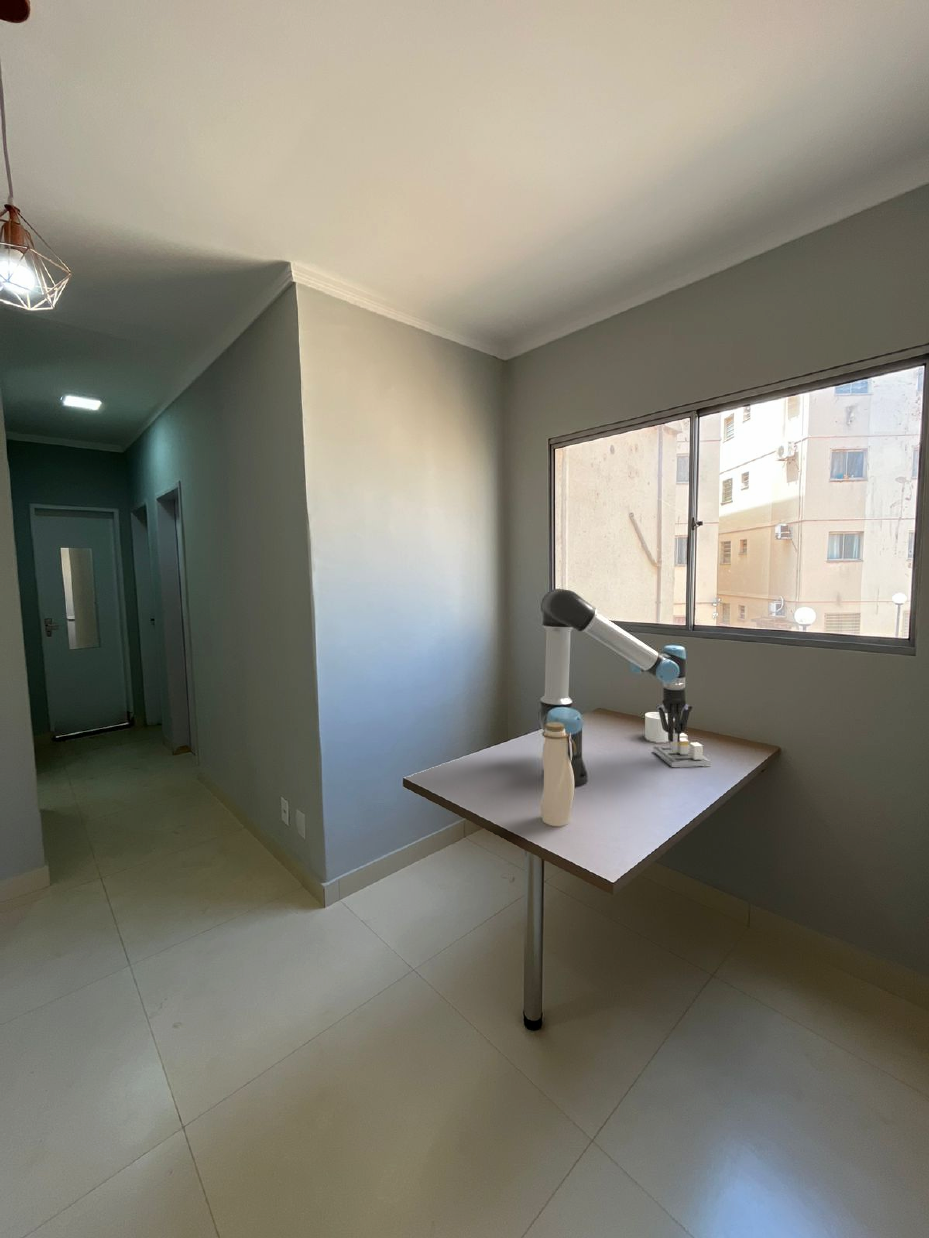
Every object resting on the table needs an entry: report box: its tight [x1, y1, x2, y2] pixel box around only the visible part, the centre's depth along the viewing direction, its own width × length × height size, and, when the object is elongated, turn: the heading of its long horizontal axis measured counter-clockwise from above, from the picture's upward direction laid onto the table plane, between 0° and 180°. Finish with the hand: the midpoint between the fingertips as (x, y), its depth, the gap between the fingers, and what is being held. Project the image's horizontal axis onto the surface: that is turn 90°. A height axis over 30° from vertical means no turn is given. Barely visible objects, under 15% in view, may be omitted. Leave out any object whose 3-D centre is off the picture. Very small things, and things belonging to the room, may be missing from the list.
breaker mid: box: [677, 738, 690, 754], centre depth 186 cm, size 3×4×5 cm
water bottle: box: [540, 722, 576, 827], centre depth 142 cm, size 10×9×28 cm
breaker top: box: [680, 732, 689, 741], centre depth 192 cm, size 3×4×5 cm
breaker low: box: [689, 742, 704, 760], centre depth 181 cm, size 3×4×5 cm
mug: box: [644, 711, 675, 742], centre depth 208 cm, size 13×10×10 cm
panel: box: [652, 745, 711, 768], centre depth 187 cm, size 14×16×2 cm
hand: (673, 749), depth 186 cm, fingers closed
